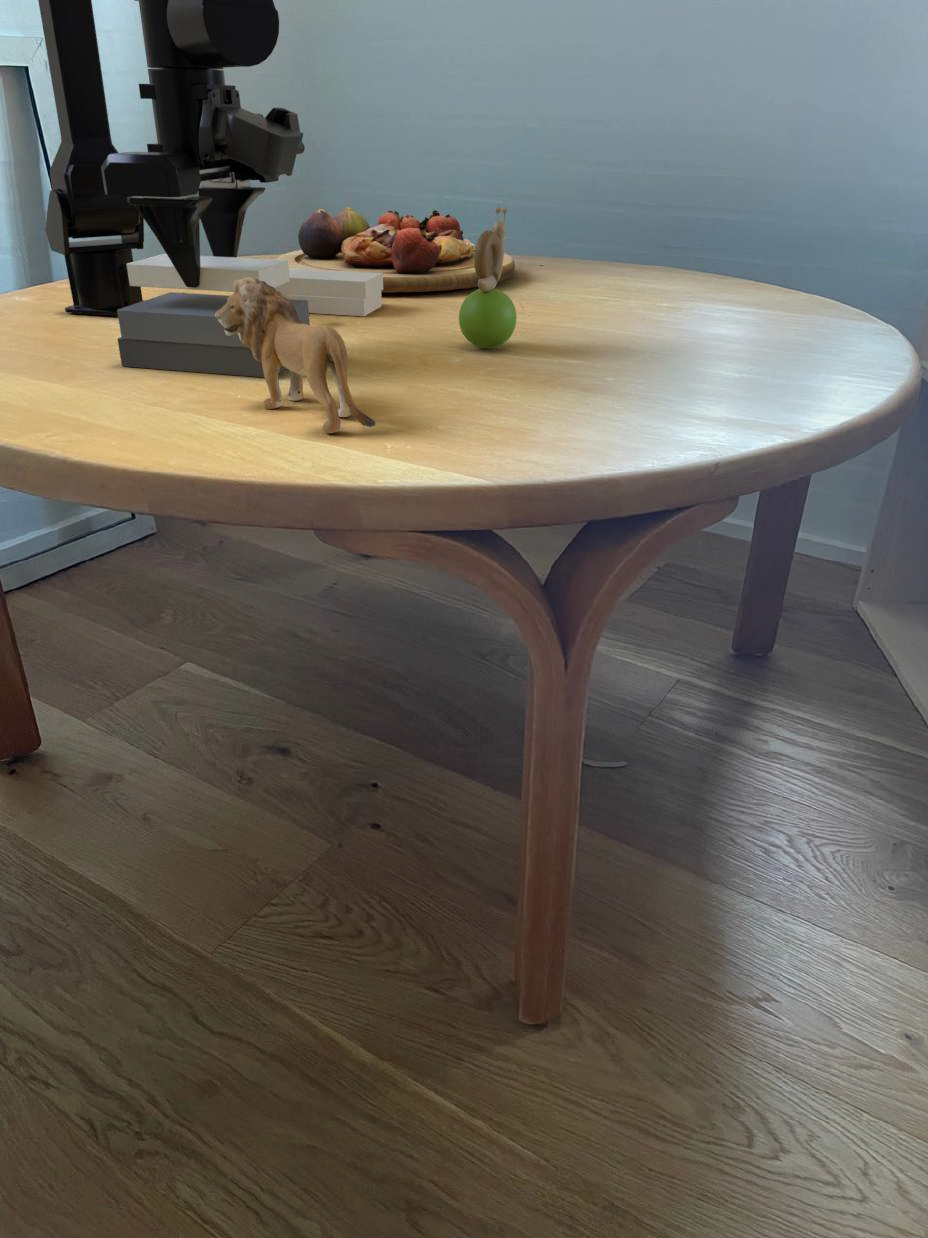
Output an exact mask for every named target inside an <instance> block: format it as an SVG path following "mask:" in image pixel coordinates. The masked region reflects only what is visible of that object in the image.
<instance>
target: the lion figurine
mask: <svg viewBox="0 0 928 1238" xmlns="http://www.w3.org/2000/svg"><path fill="white" fill-rule="evenodd" d="M233 286H234V288H235V292H233V293H232V294H231V295H229V296H230V297H229V298H228V300H227V303H226V304H225V305H224V306H223V307H222V308H221V309H219V310H218V311H217V312H216V313H215V317H216V318H217V319H218V321H219V322H220V323H221V324H222V325H223V326H224V330H225V333H226V335H228V336H231V335H234V334H236V333H238V335H239V338H240V340H241V342H242V344H243V345H245V346H246V347H248V348H249V349H251V351H252V353H253V356H254V359H256V360H257V361H258V362H261V363H262V366H263V372H264V377H265V378H264V377H263V378H264V380H265V383H266V385H267V388H268V392H269V398H266V399H264V400H263V402H262V406H263V408H264V409H267V410H270V409H277V408H280V407H282V404H283V395H282V390H281V387H280V380H279V374H280V373H279V370H280V367H285V368H287V369H288V373H289V381H290V384H289V389H288V393H287V395H286V397H287V400H288V401H292V402H295V401H296V402H297V401H301V400H303V399H304V386H303V384H304V383H303V376H304V377H305V376H306V378H307V382H308V384H309V387H310V389H311V391H312V393H313V395H314V396H315V398H316V399H317V401H318V402H319V404H320V405H321V406H322V408H323V410H324V412H325V413H326V415H327V420H326V421H325V422H324V423H323V424H322V431H323V432H324V433H325V434H334V433H337V432H338V431H340V429H341V419H340V418H348V417H351V416H352V414H353V416H354V417H355V418H356V420H357V421H358V422H359V423H360V424H361V425H362V426H363V427H369V428H374V427H375V426H376V421H375V420H373V418H371V417H369V416H368V415H366V414H365V413H363V412H362V411H361V410H359V408H358V407H357V406H356V403H355V402H354V400H353V397H352V393H351V391H350V387H349V384H348V367H349V355H348V349H347V347H346V344H345V341H344V339H343V337H342V336H341V335H340V333H339V332H338V331H337V330H336V329H335V328H334V327H332V326H328V325H323V324H318V325H310V326H309V325H307V324H304V323H302V322H301V321H300V320H299V318H298V314H297V312H296V310H295V308H294V307H293V305H292V304H291V302H290V301H289V300H288V299H287V298H285V297H283V296H282V293H281V292H280V291H277V290H276V289H275V288H274V287H272V286H269V285H268V284H266V282H264V281H259V280H258V279H255V278H246V277H245V278H243V279H241V280H236V281H235V284H233ZM287 369H286V370H287ZM328 369H329V370H330V373H331V376H332V378H333V381H334V383H335V386H336V388H337V391H338V401H339V406H338V407H337V403H336V401H335V399H334V397H333V396H332V394H331V392H330V390H329V386H328V382H327V375H328ZM278 373H279V374H278Z"/></svg>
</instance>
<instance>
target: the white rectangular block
mask: <svg viewBox="0 0 928 1238" xmlns="http://www.w3.org/2000/svg"><path fill="white" fill-rule="evenodd" d="M127 270H128V276H129V283H130V286H140V287H141V288H157V289H158V288H160V289H176V290H192V291H194V290H195V291H211V292H227V293H235V288H234V286H233V284H235V281H236V280H241V279H243V278H245V277H246V278H255V279H258V280H259V281H264V282H266V284H268V285H269V286H272V287H274V288H276V287H278V286H281V285H283V284H285V283H288V282H290V277H289V264H288V260H277V259H274V258H273V259H271V258H252V257H237V258H235V257H215V256H213V255H200V285H199V287H197V288H193V287H187V286H186V285H185V284H184V282H183V280H182V279H181V277H180V275H179V274H178V272H177V270H176V269H175V267H174V265H173V264H172V262H171V260H170V259H169V257H168V255H167V254H166V253H162V254H158V255H154V256H150V257H147V258H143V259H139V260H134V261H133V262H131V263H127Z"/></svg>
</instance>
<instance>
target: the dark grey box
mask: <svg viewBox="0 0 928 1238" xmlns="http://www.w3.org/2000/svg"><path fill="white" fill-rule="evenodd" d="M230 296H231V295H227V294H226V295H225V294H208V293H191V292H190V293H189V292H173V291H170V292H169V291H168V292H167V293H163V294H161V295H158V296H155V297H152V298H149V299H148V298H147V299H146V300H143V301H142V302H139V303H136V304H133V305H130V306H127V307H124V308H121V309H118V310H117V313H118V315H117V318H118V324H119V330H120V337H117V345H118V351H119V357H120V363H121V367H125V368H137V369H152V370H163V371H164V370H165V371H177V372H189V373H202V374H213V375H215V374H216V375H229V376H241V377H254V378H264V379H265V377H264V372H263V366H262V363H261V362H258V361H257V360H256V359H254V356H253V353H252V351H251V349H249V348H248V347H246V346H245V345H243V344H242V342H241V340H240V338H239V335H238V333H236V334H234V335H231V336H228V335H226V333H225V330H224V326H223V325H222V324H221V323H220V322H219V321H218V319H217V318H216V317H215V313H216V312H217V311H218V310H219V309H221V308H222V307H223V306H224V305H225V304H226V303H227V300H228V298H229V297H230ZM288 300H289V301H290V302H291V304H292V305H293V307H294V308H295V310H296V312H297V314H298V318H299V320H300V321H301V322H302V323H304V324H307V325H309V326H311V325H310V313H309V310H308V300H293V299H288ZM285 370H287V368H285V367H280V370H279V373H278V375H279V374H280V373H282V372H284V371H285Z"/></svg>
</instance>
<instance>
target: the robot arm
mask: <svg viewBox="0 0 928 1238" xmlns="http://www.w3.org/2000/svg"><path fill="white" fill-rule="evenodd" d="M37 2H38V6H39V13H40V18H41V25H42V31H43V32H42V33H43V37H44V44H45V50H46V56H47V62H48V67H49V73H50V79H51V86H52V91H53V97H54V102H55V103H54V104H55V108H56V116H57V121H58V128H59V133H60V140H61V141H60V144H59V146H58V149H57V151H56V154H55V156H54V159H53V161H52V163H51V166H50V168H49V176H50V177H49V178H50V185H51V190H50V191H49V192H48V193H49V194H48V203H47V211H46V219H45V228H44V229H45V235H46V238H47V242H48V245H49V248H50V251H51V252H55V253H57V254H61V255H63V256H64V262H65V266H66V273H67V278H68V283H69V288H70V293H71V297H72V298H71V299H72V303H73V304H72V305H70V306H69V305H68V306H66V307H64V310H65V313H70V314H83V315H84V314H85V315H97V316H98V315H100V316H113V317H115V316H118V313H117V310H118V309H121V308H124V307H127V306H130V305H133V304H136V303H139V302H142V301H144V300H143V293H142V287H140V286H130V283H129V276H128V270H127V263H131V262H134V256H133V250H144V242H145V223H146V224H147V226H148V227H149V228H150V230H151V231H152V233H153V235H154V236H155V238H156V239H157V241H158V242H159V244H160V246H161V247H162V248H163V250H164V252H165V254H167V255H168V257H169V259H170V260H171V262H172V264H173V265H174V267H175V269H176V270H177V272H178V274H179V275H180V277H181V279H182V280H183V282H184V284H185V285H186V286H187V287H193V288H197V287H199V285H200V256H201V237H200V236H201V234H200V231H201V229H200V222H201V226H202V228H203V231H204V233H205V237H206V239H207V243H208V245H209V247H210V251H211V254H212V256H215V257H235V258H238V254H239V247H240V242H241V236H242V231H243V226H244V223H245V222H244V221H245V217H246V213H247V211H248V209H249V207H250V206H251V205H253V203H254V202H255V201H256V200H257V198H258V197H259V196H261V195H263V194H264V192H265V191H266V187H264V186H263V187H262V186H252V185H251V181H259V183H260V184H261V183H262V184H268V183H273V182H279V178H280V176H283V175H286V176H287V177H291V176H292V175H293V171H294V168H295V162H296V159H297V155H301V154H303V153H304V152H305V150H306V148H305V144H304V142H303V137H304V133H303V132H301V128H300V123H299V117H298V114H297V113H296V112H293V111H291V110H289V109H287V108H284V107H272V109H271V110H269V112H268V113H267V114H266V116H264V114H261V113H254V112H252V111H249V110H247V109H245V108H242V106H241V96H240V92H239V90H238V89H236V85H232V84H231V85H230V84H226V80H225V79H226V78H225V70H224V69H226V68H227V69H228V68H245V67H246V68H248V67H254V66H258V65H260V64H262V63H264V62H265V61H266V60H267V59H268V58H269V57H270V56H271V55H272V53H273V52H274V49H275V47H276V46H277V43H278V38H279V34H280V16H279V11H278V9H276V5H275V2H274V0H134V2H138V6H139V7H138V8H139V14H140V21H141V29H142V38H143V44H144V52H145V60H146V66H147V73H148V81H149V83H138V91H139V97H140V99H142V100H151V102H152V104H151V105H152V111H153V119H154V126H155V127H154V128H155V133H156V141H157V142H155V143H146V148H147V151H125V152H124V151H123V152H119V151H118V149H116V146H114V144H113V140H112V135H111V127H110V121H109V113H108V107H107V101H106V93H105V86H104V85H105V84H104V79H103V72H102V65H101V57H100V51H99V45H98V44H99V43H98V36H97V30H96V21H95V15H94V7H93V2H92V0H37ZM118 236H120V238H119V237H118ZM105 237H118V238H107V239H92V240H79V241H78V239H90V238H105ZM70 239H72V240H76V239H77V241H70Z"/></svg>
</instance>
